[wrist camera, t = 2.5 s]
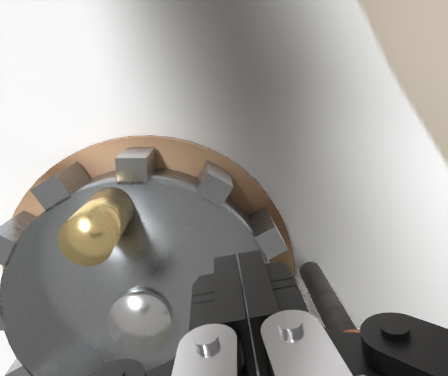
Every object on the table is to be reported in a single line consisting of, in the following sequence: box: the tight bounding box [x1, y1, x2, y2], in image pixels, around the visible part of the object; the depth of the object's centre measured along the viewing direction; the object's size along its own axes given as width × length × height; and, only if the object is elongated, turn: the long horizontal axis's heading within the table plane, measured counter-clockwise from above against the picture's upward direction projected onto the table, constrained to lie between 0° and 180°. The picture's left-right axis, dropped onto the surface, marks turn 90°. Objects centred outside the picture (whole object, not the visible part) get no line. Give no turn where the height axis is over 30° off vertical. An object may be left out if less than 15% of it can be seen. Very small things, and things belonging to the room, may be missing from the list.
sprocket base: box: [3, 135, 360, 333], centre depth 25 cm, size 22×25×11 cm
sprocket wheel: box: [0, 147, 288, 376], centre depth 24 cm, size 21×21×9 cm
